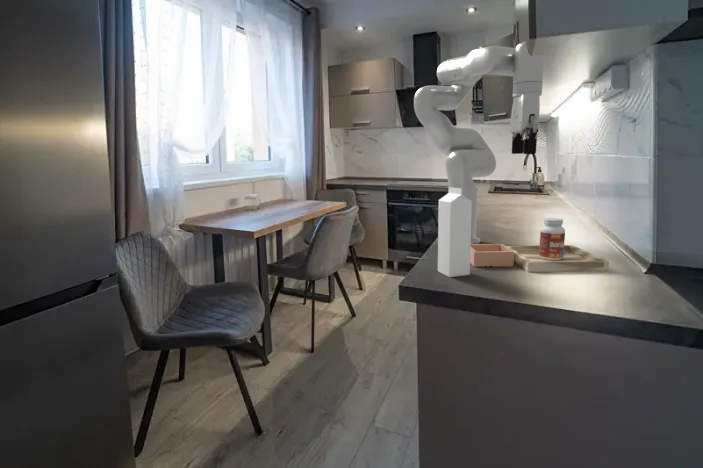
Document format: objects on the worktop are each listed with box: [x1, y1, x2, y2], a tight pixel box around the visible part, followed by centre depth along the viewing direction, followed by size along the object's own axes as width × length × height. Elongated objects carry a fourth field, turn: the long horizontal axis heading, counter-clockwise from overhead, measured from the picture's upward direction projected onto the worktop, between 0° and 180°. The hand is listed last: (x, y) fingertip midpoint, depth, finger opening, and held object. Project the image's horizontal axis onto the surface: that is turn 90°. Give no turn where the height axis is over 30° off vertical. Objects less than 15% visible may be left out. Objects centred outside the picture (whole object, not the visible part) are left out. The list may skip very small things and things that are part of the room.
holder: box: [470, 243, 515, 268], centre depth 118 cm, size 11×11×4 cm
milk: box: [437, 187, 472, 278], centre depth 106 cm, size 6×6×22 cm
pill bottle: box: [539, 217, 566, 260], centre depth 115 cm, size 6×6×11 cm
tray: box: [506, 244, 610, 273], centre depth 116 cm, size 20×20×2 cm
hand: (523, 153), depth 118 cm, fingers open, 9 cm apart
